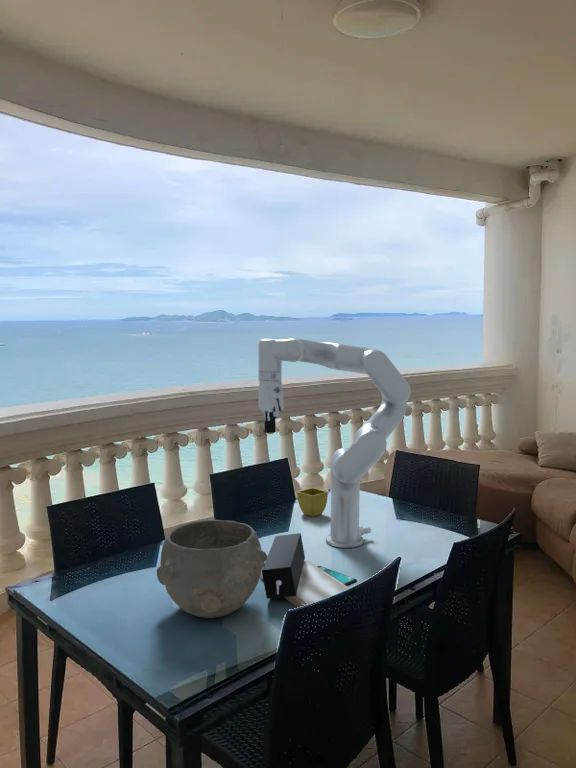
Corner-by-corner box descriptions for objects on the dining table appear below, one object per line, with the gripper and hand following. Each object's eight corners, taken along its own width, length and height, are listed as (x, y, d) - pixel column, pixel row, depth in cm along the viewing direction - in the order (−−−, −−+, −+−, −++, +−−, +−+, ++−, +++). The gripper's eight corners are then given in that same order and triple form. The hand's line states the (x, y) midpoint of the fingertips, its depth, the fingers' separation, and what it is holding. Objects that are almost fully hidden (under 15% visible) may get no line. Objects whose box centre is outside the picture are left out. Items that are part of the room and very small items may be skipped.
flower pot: (296, 514, 236) (296, 491, 235) (312, 509, 242) (312, 487, 241) (312, 519, 230) (312, 496, 229) (328, 514, 236) (328, 491, 235)
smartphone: (319, 565, 185) (358, 579, 174) (319, 567, 185) (358, 582, 174) (302, 571, 180) (342, 586, 169) (302, 574, 180) (342, 589, 169)
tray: (307, 567, 184) (307, 559, 184) (362, 604, 160) (362, 595, 159) (259, 577, 176) (259, 569, 176) (309, 617, 152) (309, 608, 152)
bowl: (254, 641, 141) (254, 556, 139) (138, 628, 146) (136, 546, 145) (279, 591, 167) (279, 519, 165) (180, 582, 173) (179, 512, 171)
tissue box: (279, 560, 185) (264, 604, 157) (275, 535, 184) (259, 575, 156) (305, 557, 184) (294, 601, 156) (300, 532, 183) (289, 572, 155)
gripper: (291, 378, 196) (290, 434, 198) (269, 374, 209) (269, 428, 211) (270, 379, 192) (270, 436, 194) (249, 375, 205) (250, 429, 207)
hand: (270, 432), depth 202 cm, fingers closed
